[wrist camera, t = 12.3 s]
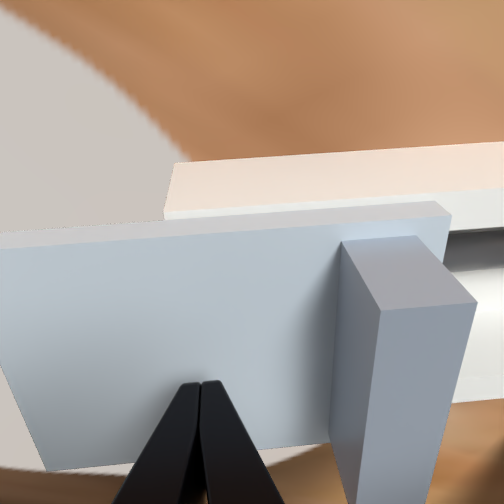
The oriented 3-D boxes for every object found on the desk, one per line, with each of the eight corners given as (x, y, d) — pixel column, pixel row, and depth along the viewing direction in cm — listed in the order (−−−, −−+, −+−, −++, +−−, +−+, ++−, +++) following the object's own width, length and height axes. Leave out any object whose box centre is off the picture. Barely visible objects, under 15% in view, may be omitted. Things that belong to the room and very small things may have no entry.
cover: (55, 445, 12) (11, 571, 10) (-30, 234, 9) (-135, 333, 6) (397, 411, 13) (448, 522, 10) (434, 200, 10) (526, 277, 7)
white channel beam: (199, 348, 16) (196, 428, 13) (174, 163, 12) (162, 212, 9) (538, 318, 17) (612, 387, 14) (603, 134, 13) (723, 171, 10)
